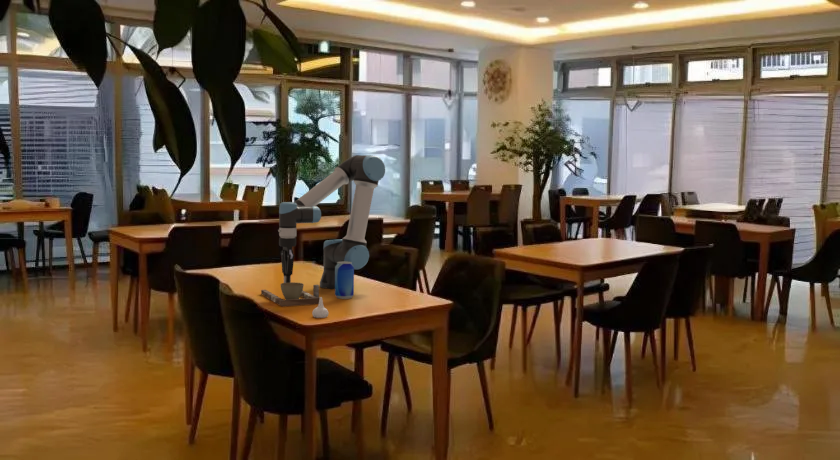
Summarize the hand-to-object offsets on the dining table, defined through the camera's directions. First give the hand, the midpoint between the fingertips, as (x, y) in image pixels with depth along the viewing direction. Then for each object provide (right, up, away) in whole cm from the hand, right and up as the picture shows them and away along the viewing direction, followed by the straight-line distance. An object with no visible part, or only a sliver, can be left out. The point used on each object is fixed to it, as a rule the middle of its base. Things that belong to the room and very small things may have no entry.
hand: (287, 289), depth 349 cm
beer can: (+25, -4, +3) cm, 26 cm away
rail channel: (+3, -4, -1) cm, 5 cm away
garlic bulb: (+20, -8, -39) cm, 44 cm away
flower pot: (+3, -4, -6) cm, 8 cm away
